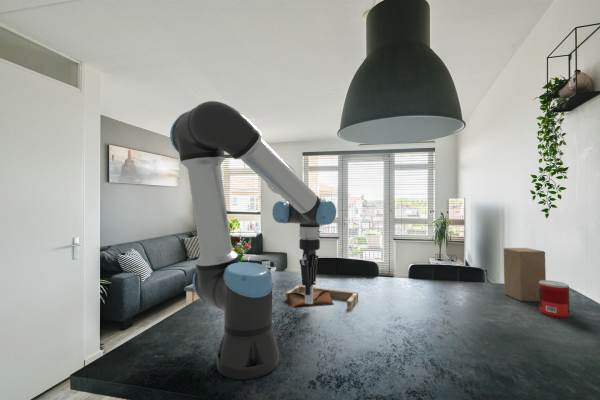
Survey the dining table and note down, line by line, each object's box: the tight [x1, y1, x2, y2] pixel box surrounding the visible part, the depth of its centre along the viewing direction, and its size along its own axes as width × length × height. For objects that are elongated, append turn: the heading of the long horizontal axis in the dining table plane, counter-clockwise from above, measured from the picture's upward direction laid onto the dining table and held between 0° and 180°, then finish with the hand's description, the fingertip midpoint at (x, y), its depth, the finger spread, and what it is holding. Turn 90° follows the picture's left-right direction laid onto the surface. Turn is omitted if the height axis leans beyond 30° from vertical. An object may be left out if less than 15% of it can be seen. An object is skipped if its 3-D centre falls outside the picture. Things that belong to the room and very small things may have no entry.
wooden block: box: [503, 247, 547, 302], centre depth 119 cm, size 10×10×20 cm
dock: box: [285, 285, 359, 311], centre depth 117 cm, size 12×27×3 cm, turn 66°
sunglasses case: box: [286, 291, 335, 309], centre depth 114 cm, size 18×7×7 cm
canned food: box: [538, 279, 571, 319], centre depth 101 cm, size 8×8×11 cm
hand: (308, 303), depth 105 cm, fingers closed
